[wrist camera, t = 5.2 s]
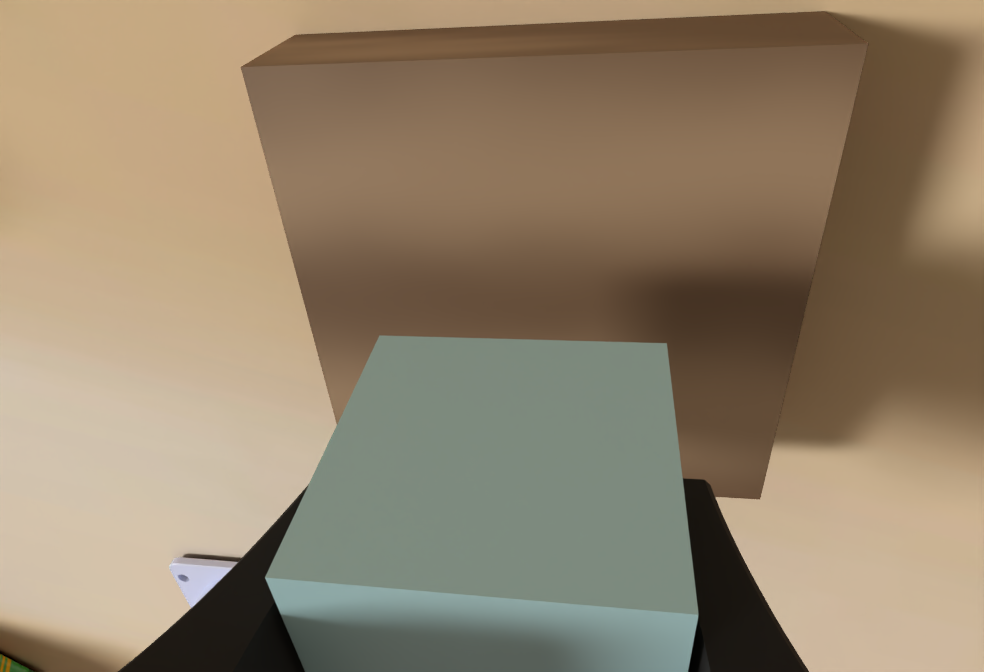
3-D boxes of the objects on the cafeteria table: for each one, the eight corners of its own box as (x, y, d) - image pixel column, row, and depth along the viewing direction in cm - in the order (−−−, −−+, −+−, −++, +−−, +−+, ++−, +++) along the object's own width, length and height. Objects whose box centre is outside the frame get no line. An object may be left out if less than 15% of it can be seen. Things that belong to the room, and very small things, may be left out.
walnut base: (742, 425, 21) (760, 499, 19) (377, 409, 23) (350, 475, 21) (825, 11, 14) (868, 43, 12) (295, 34, 16) (240, 66, 14)
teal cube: (647, 535, 14) (662, 806, 10) (416, 519, 15) (345, 766, 11) (666, 343, 11) (698, 614, 7) (379, 335, 12) (264, 577, 8)
